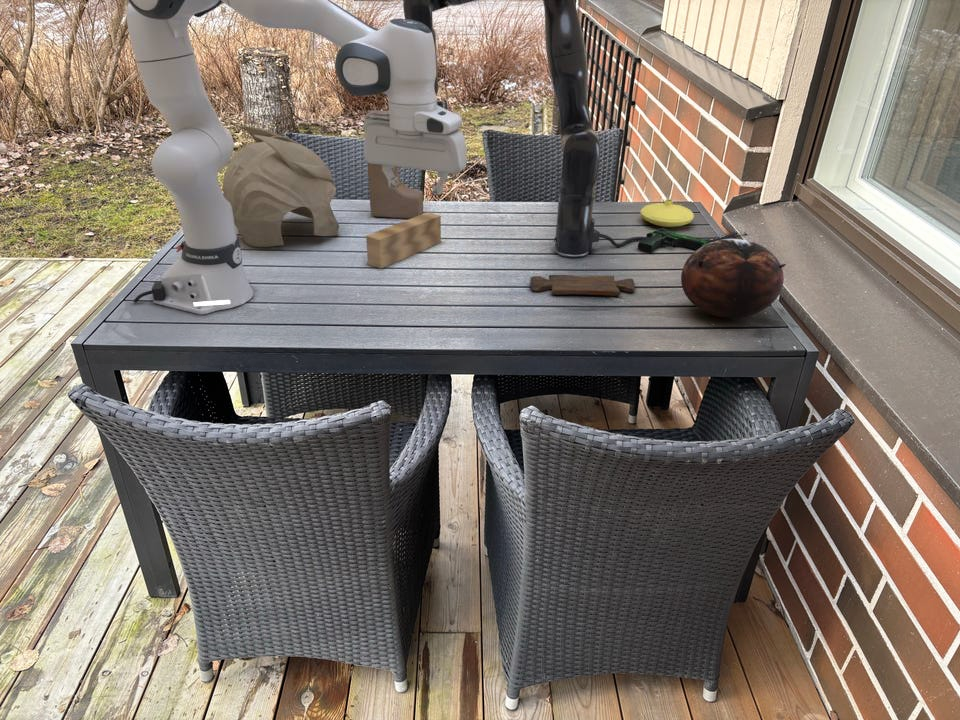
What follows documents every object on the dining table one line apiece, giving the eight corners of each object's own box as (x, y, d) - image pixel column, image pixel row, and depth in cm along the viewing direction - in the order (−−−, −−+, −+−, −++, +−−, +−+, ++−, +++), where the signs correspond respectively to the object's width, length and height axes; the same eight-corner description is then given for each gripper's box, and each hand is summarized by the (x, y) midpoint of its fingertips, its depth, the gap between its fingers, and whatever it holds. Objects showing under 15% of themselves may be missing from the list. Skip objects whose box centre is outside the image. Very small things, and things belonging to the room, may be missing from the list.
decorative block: (418, 219, 216) (415, 117, 200) (370, 216, 217) (363, 114, 202) (423, 211, 222) (421, 111, 207) (376, 208, 224) (370, 109, 208)
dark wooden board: (638, 298, 171) (631, 281, 180) (639, 292, 170) (632, 275, 179) (530, 294, 172) (529, 277, 180) (531, 288, 171) (529, 271, 179)
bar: (428, 238, 203) (427, 211, 199) (441, 242, 201) (440, 215, 197) (367, 264, 187) (365, 235, 183) (380, 268, 184) (379, 240, 180)
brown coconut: (756, 268, 174) (792, 226, 156) (764, 335, 169) (803, 301, 150) (665, 264, 174) (691, 222, 155) (670, 332, 168) (697, 297, 149)
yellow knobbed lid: (637, 212, 224) (640, 190, 220) (689, 215, 222) (693, 193, 219) (640, 230, 211) (643, 207, 207) (695, 233, 209) (699, 210, 205)
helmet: (352, 242, 202) (347, 133, 187) (249, 261, 186) (234, 144, 172) (313, 214, 220) (305, 113, 206) (217, 230, 205) (201, 122, 190)
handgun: (632, 238, 197) (658, 223, 207) (630, 248, 199) (657, 232, 209) (685, 255, 189) (710, 237, 198) (684, 265, 190) (708, 247, 200)
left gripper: (354, 115, 132) (360, 188, 139) (456, 125, 126) (457, 201, 133) (371, 108, 137) (376, 179, 144) (470, 118, 131) (469, 192, 138)
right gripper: (391, 71, 178) (394, 137, 186) (434, 78, 170) (435, 146, 179) (411, 67, 183) (413, 132, 191) (454, 74, 175) (454, 141, 184)
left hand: (415, 190), depth 139 cm, fingers open, 8 cm apart
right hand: (424, 139), depth 185 cm, fingers open, 8 cm apart
